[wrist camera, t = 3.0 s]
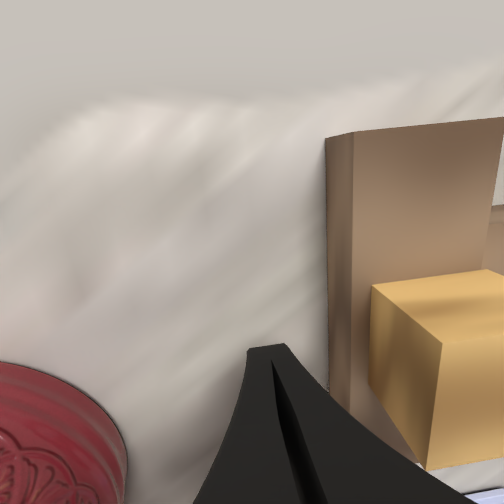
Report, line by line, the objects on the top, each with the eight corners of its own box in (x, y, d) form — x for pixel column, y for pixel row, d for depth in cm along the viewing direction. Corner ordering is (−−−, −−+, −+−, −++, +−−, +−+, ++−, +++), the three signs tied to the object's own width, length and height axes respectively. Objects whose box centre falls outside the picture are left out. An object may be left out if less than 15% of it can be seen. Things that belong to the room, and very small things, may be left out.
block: (470, 367, 12) (564, 445, 9) (367, 383, 12) (425, 471, 8) (486, 269, 11) (607, 317, 7) (371, 284, 10) (442, 343, 7)
